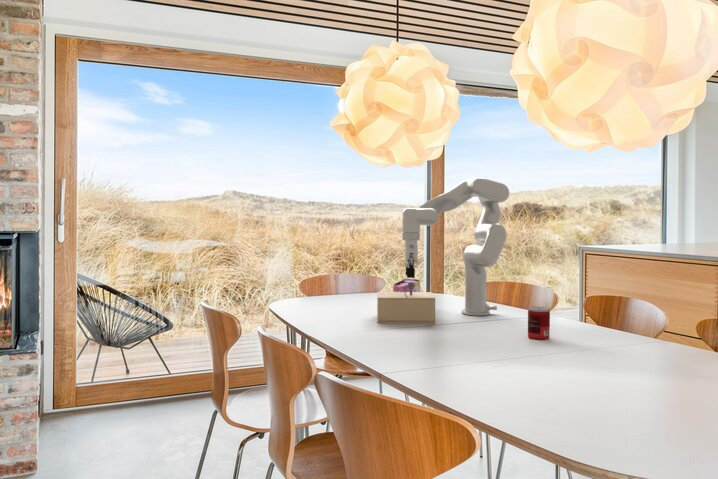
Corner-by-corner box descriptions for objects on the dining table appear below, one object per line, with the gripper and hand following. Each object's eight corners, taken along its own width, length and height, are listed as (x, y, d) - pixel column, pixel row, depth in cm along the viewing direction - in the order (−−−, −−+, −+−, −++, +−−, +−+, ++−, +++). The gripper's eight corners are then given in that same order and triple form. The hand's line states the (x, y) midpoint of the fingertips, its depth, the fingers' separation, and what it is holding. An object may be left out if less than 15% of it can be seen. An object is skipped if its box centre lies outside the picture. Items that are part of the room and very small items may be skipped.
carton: (430, 315, 255) (431, 292, 254) (435, 323, 237) (435, 297, 236) (377, 315, 255) (377, 291, 255) (377, 323, 237) (377, 297, 237)
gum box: (408, 314, 258) (408, 285, 257) (391, 313, 260) (391, 284, 260) (420, 306, 280) (420, 279, 280) (404, 305, 283) (404, 278, 282)
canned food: (548, 336, 212) (549, 307, 211) (550, 340, 204) (550, 310, 203) (527, 335, 214) (527, 306, 213) (527, 339, 206) (528, 309, 206)
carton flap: (431, 293, 254) (431, 279, 254) (435, 299, 237) (435, 284, 236) (405, 293, 254) (405, 279, 254) (407, 299, 237) (407, 284, 237)
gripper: (421, 237, 236) (420, 278, 236) (418, 236, 253) (417, 274, 253) (403, 237, 236) (402, 278, 236) (401, 236, 253) (400, 274, 254)
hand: (410, 276), depth 245 cm, fingers open, 9 cm apart
